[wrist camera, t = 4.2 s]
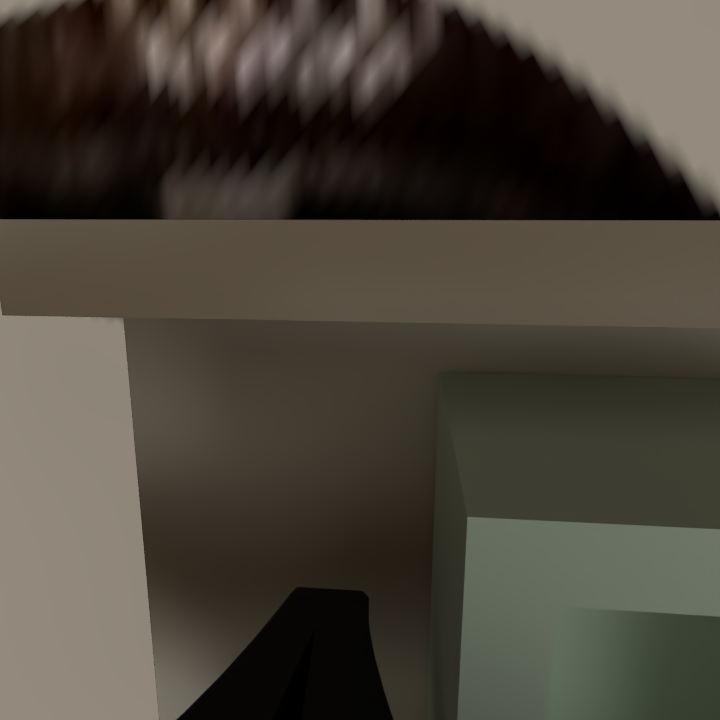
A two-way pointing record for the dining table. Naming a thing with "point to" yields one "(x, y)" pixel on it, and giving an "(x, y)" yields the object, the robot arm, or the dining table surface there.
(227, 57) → the dining table surface
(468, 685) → the box
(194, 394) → the bay
